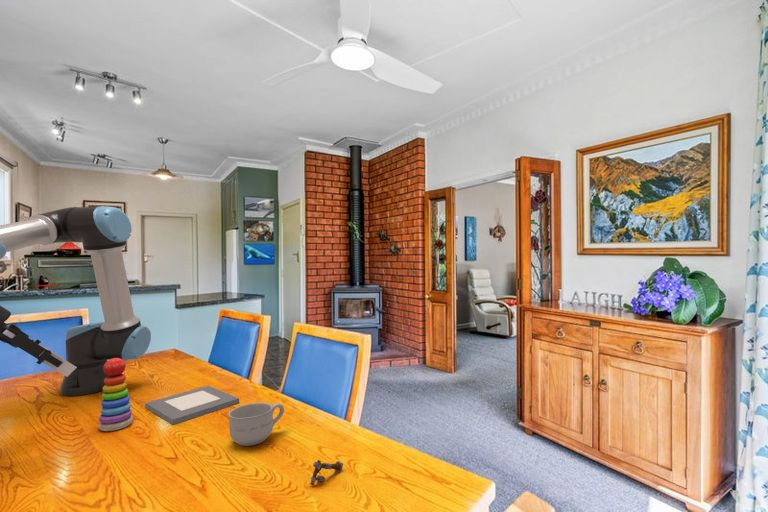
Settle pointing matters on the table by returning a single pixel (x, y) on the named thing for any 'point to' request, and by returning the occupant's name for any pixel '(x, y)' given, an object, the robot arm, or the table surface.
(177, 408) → the plate
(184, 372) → the table surface
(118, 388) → the stacking toy
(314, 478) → the dark triangular frame
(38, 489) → the table surface
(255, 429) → the teacup
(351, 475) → the table surface
